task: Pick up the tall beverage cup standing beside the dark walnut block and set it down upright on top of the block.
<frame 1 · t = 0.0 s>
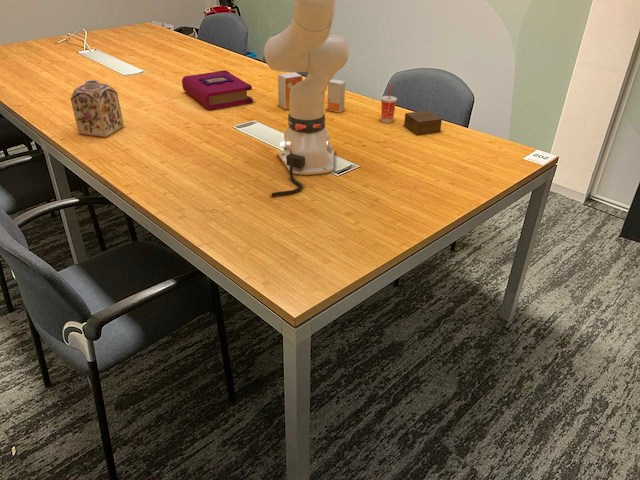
cosmetic box: (335, 110, 216), on the table
small box: (290, 106, 219), on the table
beverage cup: (387, 121, 207), on the table
book: (217, 97, 228), on the table
decorative jar: (101, 130, 194), on the table
walnut block: (421, 128, 200), on the table
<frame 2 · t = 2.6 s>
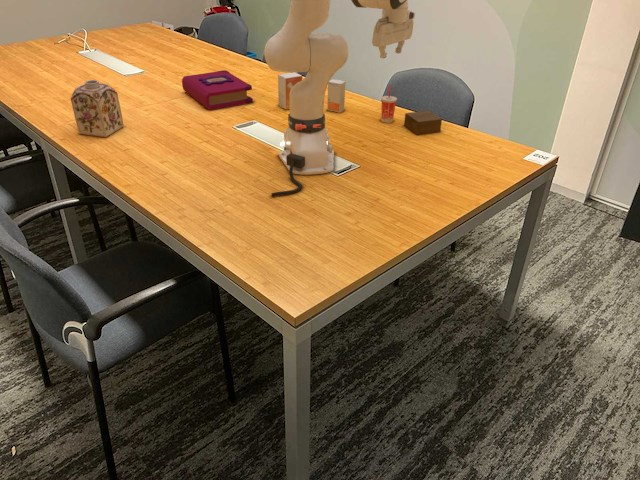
hand: (390, 55, 193), 25 cm above the table, tool pointing down, fingers open, 8 cm apart
nothing on the table moved.
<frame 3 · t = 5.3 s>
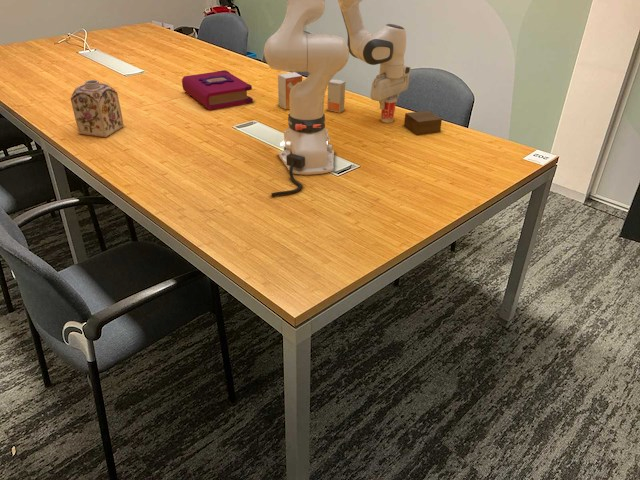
hand: (388, 106, 204), 6 cm above the table, tool pointing down, fingers closed on beverage cup, 6 cm apart
beverage cup: (387, 121, 207), on the table, touching gripper
everything else where it was.
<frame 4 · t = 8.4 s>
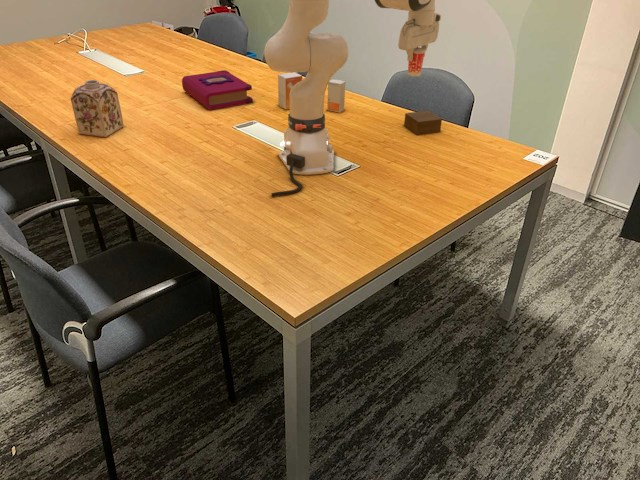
hand: (416, 58, 189), 25 cm above the table, tool pointing down, fingers closed on beverage cup, 6 cm apart
beverage cup: (414, 75, 192), point 19 cm above the table, touching gripper
everything else where it was.
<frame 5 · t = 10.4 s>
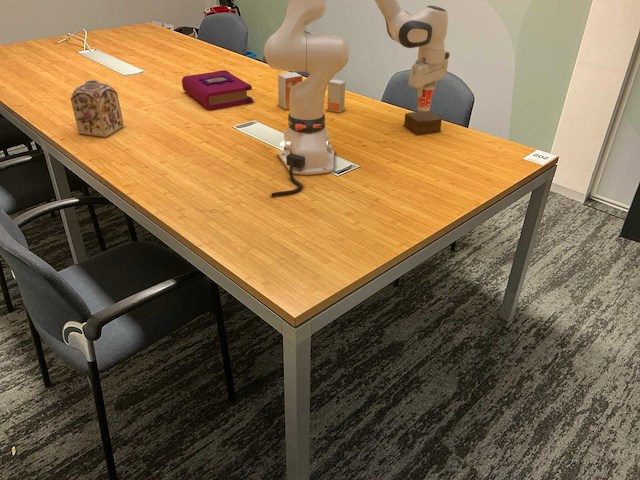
hand: (425, 94, 193), 13 cm above the table, tool pointing down, fingers closed on beverage cup, 6 cm apart
beverage cup: (423, 109, 196), point 7 cm above the table, touching gripper
everything else where it was.
when the fingers open (10 cm above the table, at t = 11.8 s): beverage cup stays where it is, resting on walnut block.
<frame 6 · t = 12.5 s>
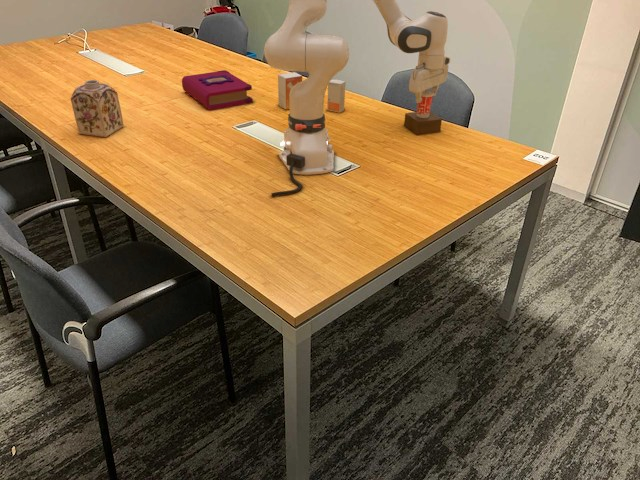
hand: (425, 99, 194), 11 cm above the table, tool pointing down, fingers open, 8 cm apart
beverage cup: (422, 116, 198), point 5 cm above the table, touching walnut block
walnut block: (421, 128, 200), on the table, touching beverage cup
everything else where it was.
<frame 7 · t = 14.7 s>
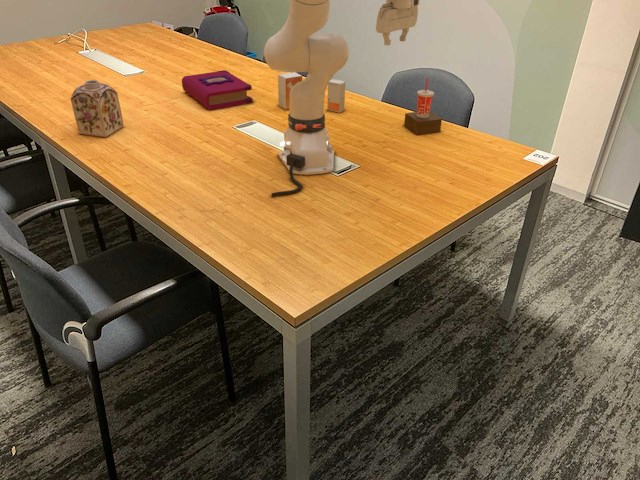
hand: (395, 43, 189), 30 cm above the table, tool pointing down, fingers open, 8 cm apart
nothing on the table moved.
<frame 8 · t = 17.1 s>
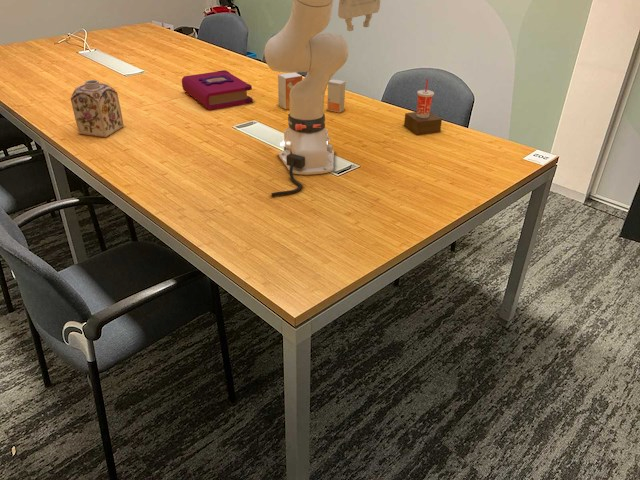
hand: (358, 28, 193), 33 cm above the table, tool pointing down, fingers open, 8 cm apart
nothing on the table moved.
at the end: beverage cup 0.3 cm off-centre on the walnut block, point 4.8 cm above the walnut block's base; beverage cup tilted 0°; beverage cup touching walnut block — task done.
